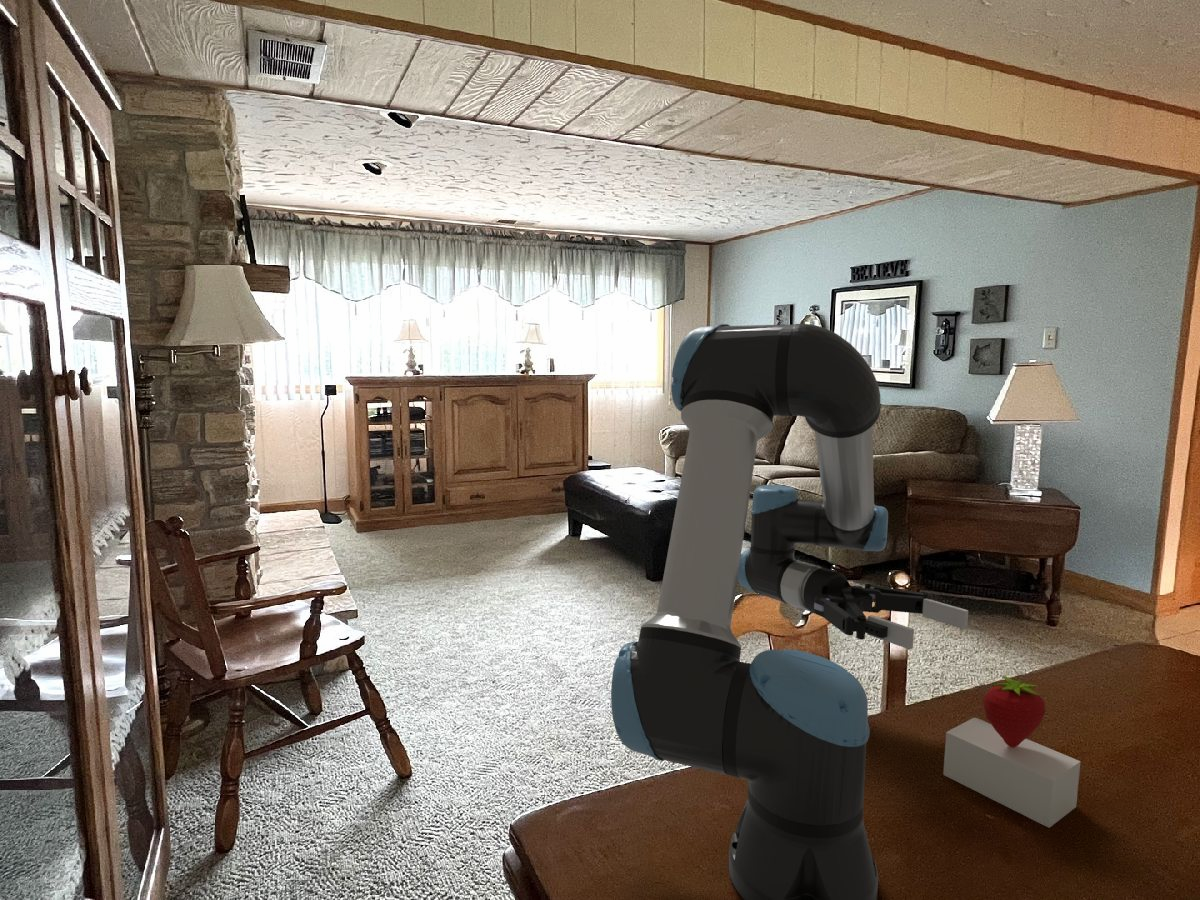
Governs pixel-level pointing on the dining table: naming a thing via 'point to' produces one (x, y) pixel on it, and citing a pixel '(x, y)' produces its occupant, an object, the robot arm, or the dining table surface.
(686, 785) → the dining table surface
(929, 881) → the dining table surface
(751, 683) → the robot arm
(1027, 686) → the strawberry
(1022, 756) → the block
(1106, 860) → the dining table surface
